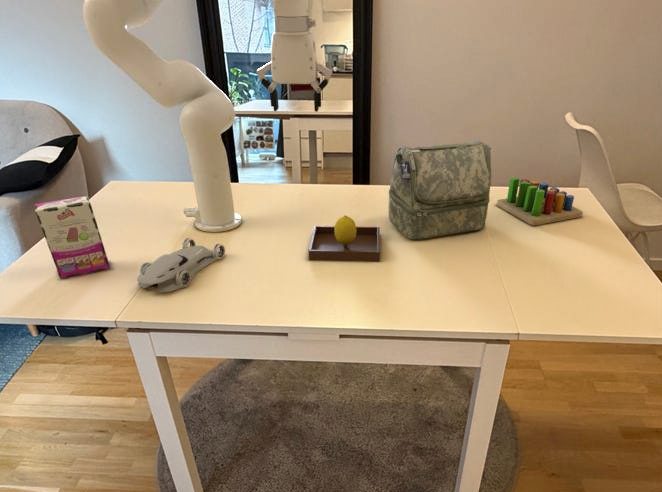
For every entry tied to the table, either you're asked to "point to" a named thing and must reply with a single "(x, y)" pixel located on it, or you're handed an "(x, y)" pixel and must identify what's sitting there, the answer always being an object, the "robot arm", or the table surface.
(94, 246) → the candy bar box
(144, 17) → the robot arm
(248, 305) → the table surface
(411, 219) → the lunch bag
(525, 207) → the peg board
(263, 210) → the table surface
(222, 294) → the table surface
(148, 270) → the car model
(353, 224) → the lemon
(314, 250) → the walnut tray
